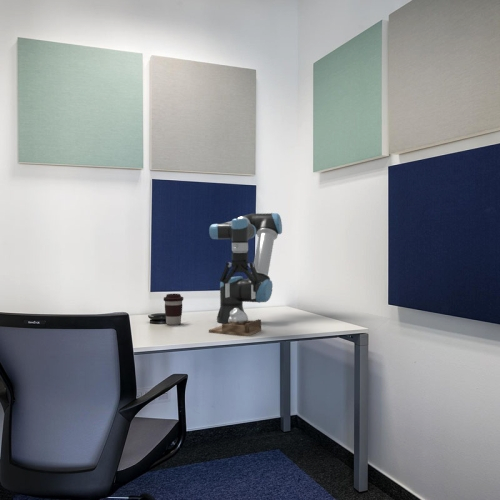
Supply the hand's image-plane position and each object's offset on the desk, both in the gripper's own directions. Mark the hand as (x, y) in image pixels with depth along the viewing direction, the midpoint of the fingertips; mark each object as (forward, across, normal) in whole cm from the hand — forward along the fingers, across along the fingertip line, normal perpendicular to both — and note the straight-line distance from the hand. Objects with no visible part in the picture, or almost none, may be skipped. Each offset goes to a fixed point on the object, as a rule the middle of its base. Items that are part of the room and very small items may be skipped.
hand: (240, 298), depth 218 cm
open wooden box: (+15, -2, -2) cm, 16 cm away
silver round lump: (+14, 0, -2) cm, 14 cm away
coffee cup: (+16, -40, +2) cm, 43 cm away
